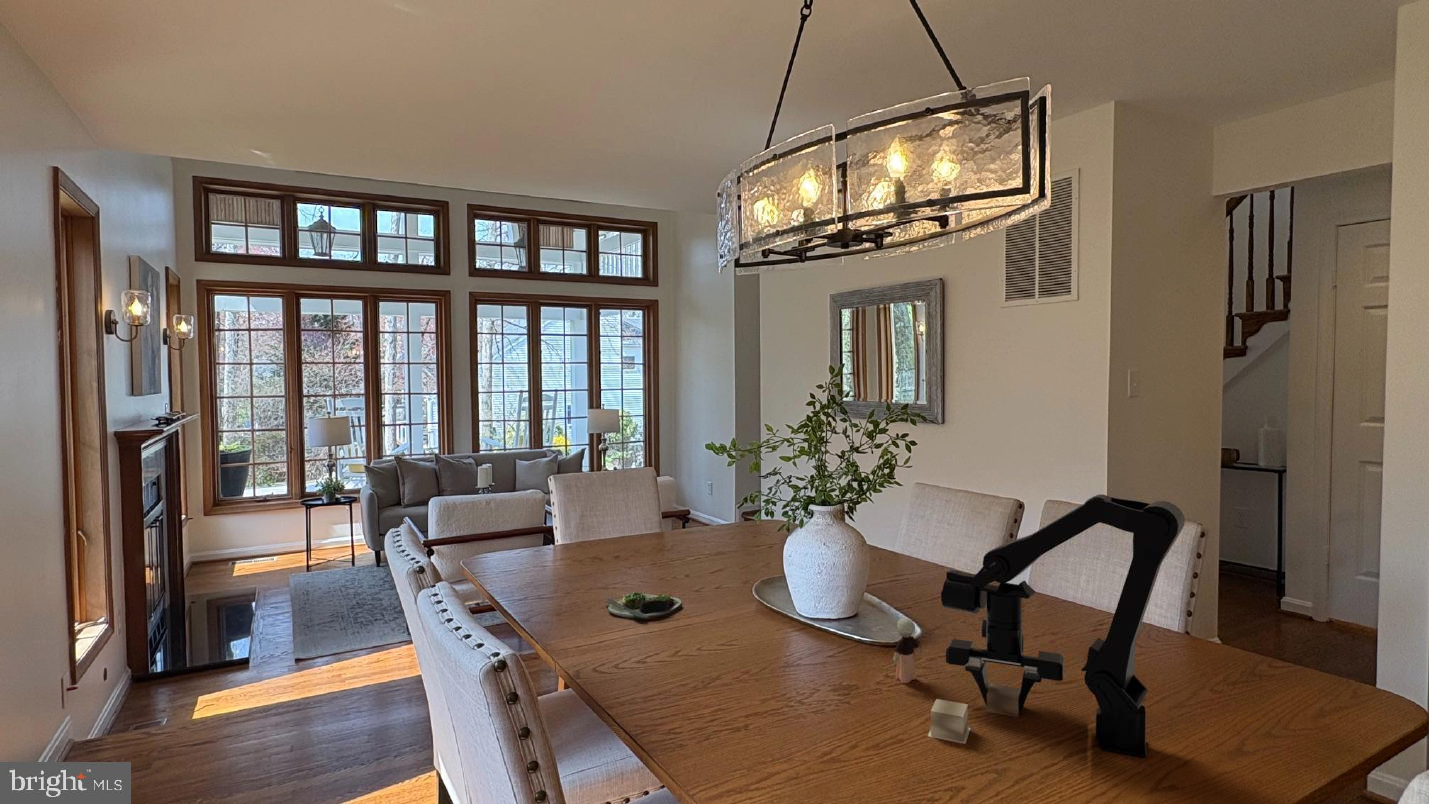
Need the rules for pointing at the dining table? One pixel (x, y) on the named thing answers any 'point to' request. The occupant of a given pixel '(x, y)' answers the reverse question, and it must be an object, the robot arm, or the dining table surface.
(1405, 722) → the dining table surface
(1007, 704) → the walnut block
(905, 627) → the grandmother figurine
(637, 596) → the salad plate
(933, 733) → the maple block
